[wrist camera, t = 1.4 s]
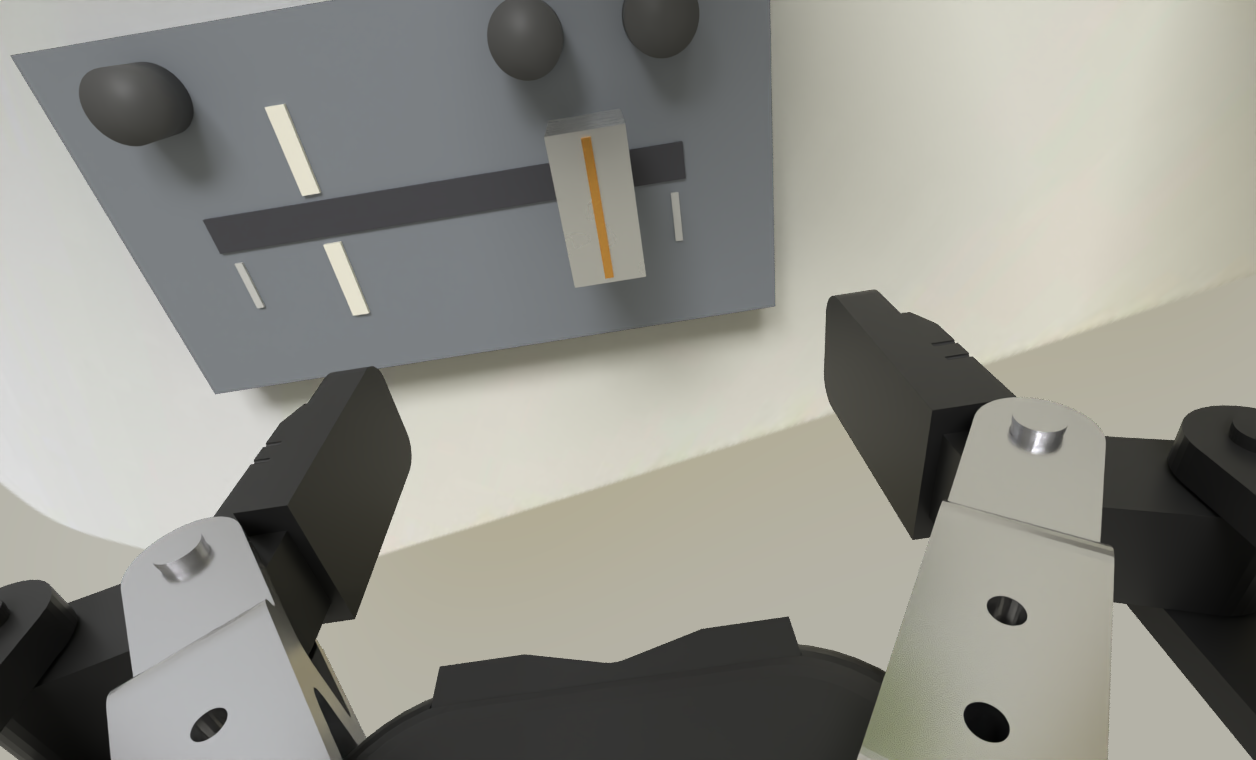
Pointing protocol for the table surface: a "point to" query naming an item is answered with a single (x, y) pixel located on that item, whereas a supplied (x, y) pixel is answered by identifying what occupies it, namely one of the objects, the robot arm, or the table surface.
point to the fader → (596, 197)
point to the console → (418, 172)
